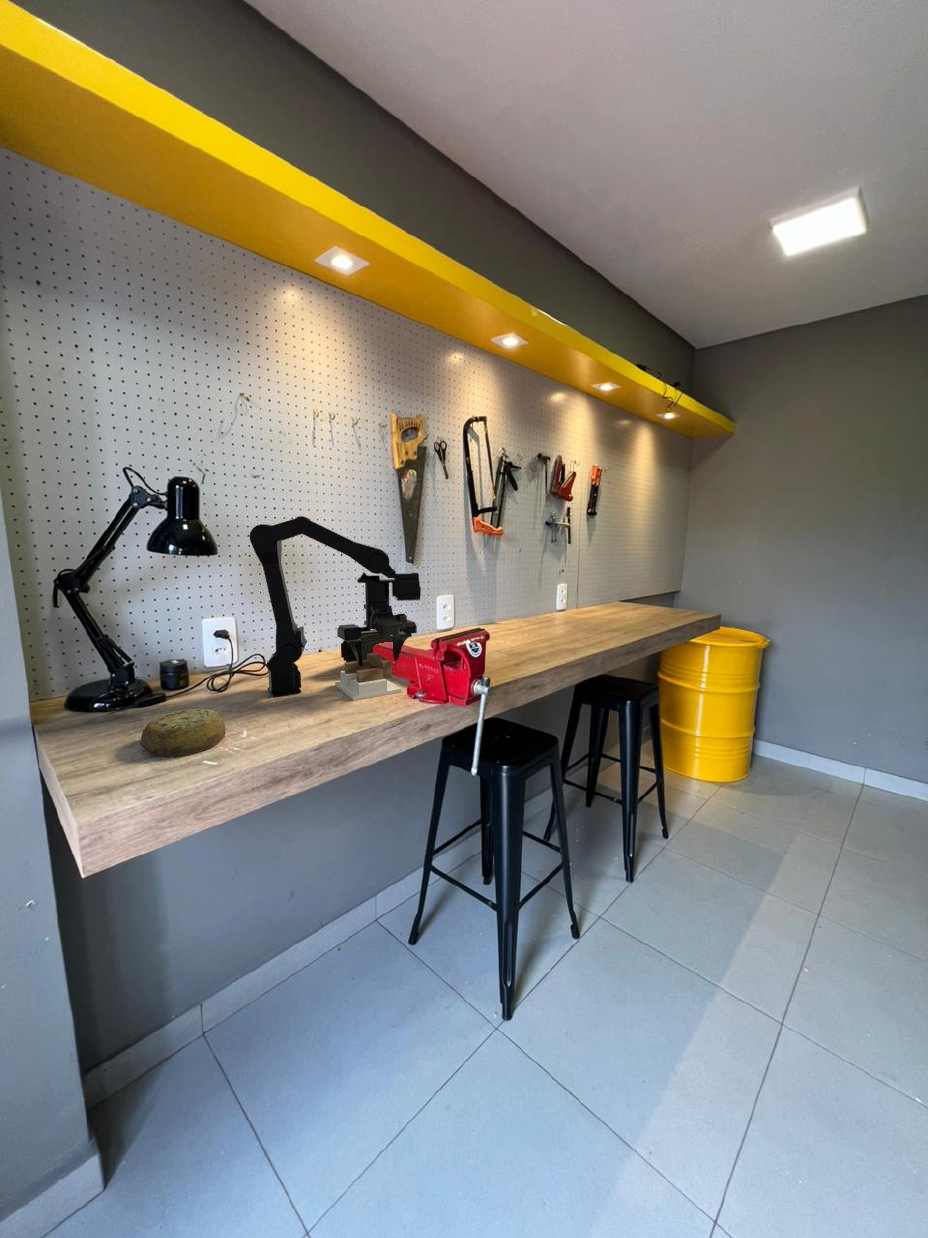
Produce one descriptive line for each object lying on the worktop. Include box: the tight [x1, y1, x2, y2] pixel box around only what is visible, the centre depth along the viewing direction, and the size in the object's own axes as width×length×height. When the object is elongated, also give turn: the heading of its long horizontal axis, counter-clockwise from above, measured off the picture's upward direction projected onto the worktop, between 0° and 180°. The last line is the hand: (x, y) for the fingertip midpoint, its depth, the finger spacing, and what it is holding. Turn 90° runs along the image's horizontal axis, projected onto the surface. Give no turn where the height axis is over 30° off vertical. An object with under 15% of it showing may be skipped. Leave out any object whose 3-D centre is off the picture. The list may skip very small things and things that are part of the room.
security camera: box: [340, 633, 393, 662], centre depth 139 cm, size 7×18×10 cm, turn 155°
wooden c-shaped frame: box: [334, 670, 402, 701], centre depth 121 cm, size 12×13×4 cm
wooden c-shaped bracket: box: [344, 653, 393, 683], centre depth 120 cm, size 8×10×4 cm
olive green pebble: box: [140, 708, 226, 757], centre depth 90 cm, size 14×14×5 cm
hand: (378, 663), depth 122 cm, fingers open, 9 cm apart
